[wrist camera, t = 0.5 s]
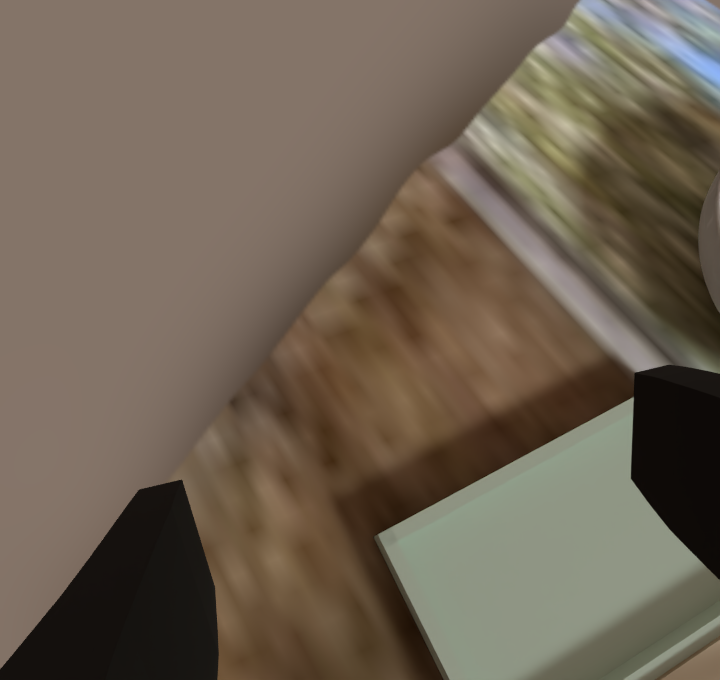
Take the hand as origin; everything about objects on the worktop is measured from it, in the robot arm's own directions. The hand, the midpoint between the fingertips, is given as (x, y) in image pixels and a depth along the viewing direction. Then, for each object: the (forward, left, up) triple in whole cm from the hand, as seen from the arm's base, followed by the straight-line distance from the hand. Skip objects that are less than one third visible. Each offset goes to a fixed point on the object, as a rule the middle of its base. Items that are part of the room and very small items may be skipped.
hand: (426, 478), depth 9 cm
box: (-7, -12, -28) cm, 31 cm away
